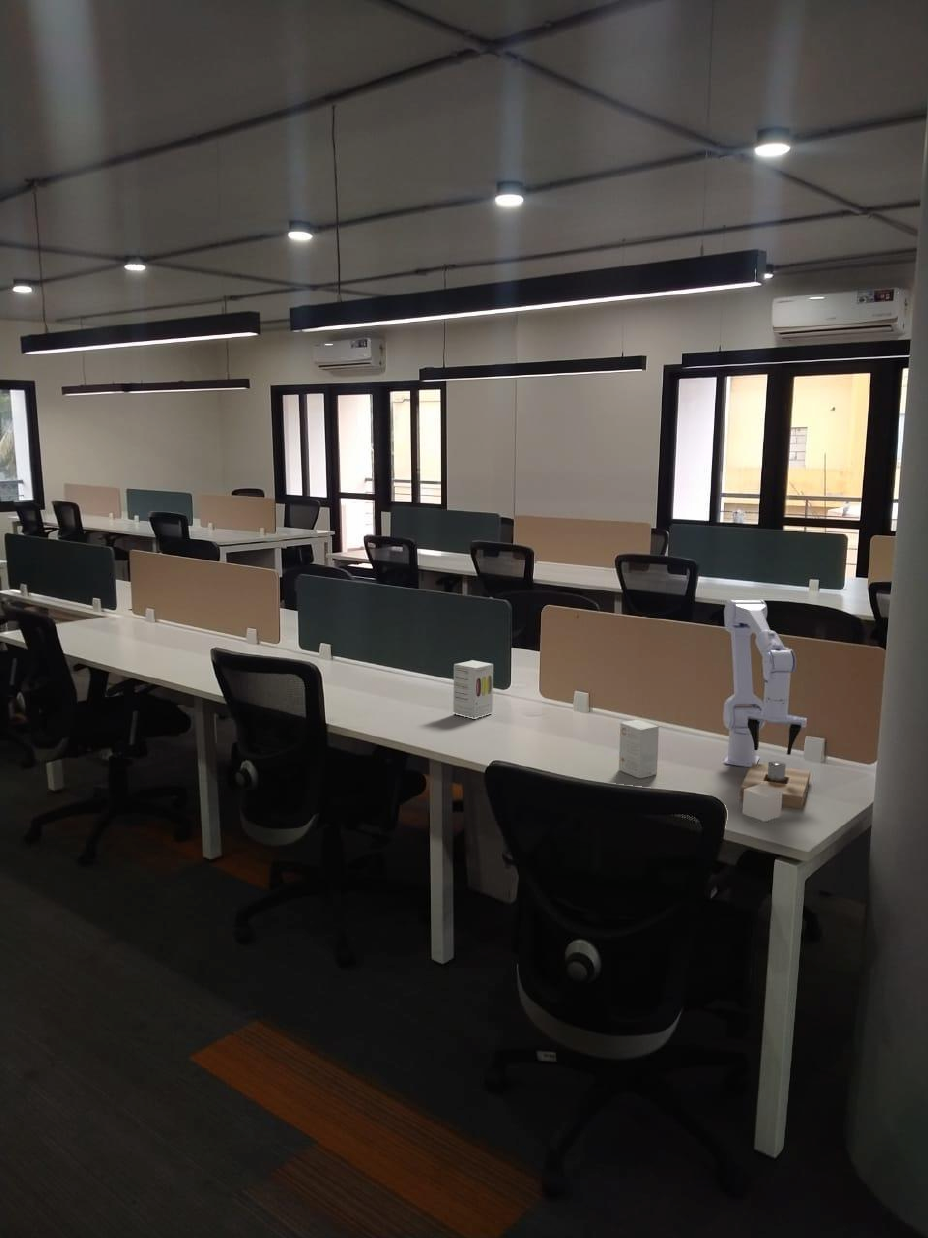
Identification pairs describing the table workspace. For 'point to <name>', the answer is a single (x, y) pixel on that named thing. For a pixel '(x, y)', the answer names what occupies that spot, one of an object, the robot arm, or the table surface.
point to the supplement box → (473, 688)
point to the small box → (638, 748)
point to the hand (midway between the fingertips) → (772, 751)
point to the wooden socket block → (780, 784)
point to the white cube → (762, 802)
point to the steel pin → (776, 772)
